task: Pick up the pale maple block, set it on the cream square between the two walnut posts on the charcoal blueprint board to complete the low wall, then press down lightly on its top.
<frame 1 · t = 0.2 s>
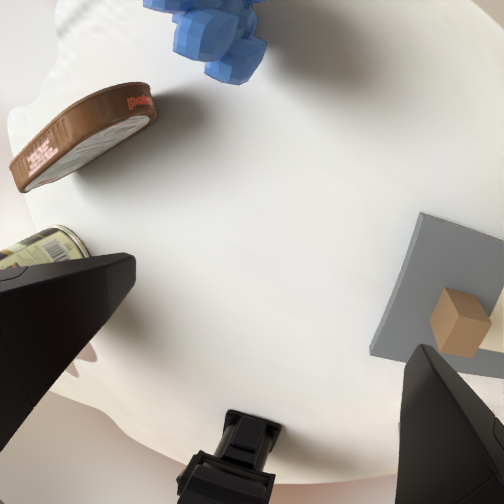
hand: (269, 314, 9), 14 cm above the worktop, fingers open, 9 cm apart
coffee can: (68, 266, 32), on the worktop
grapes: (254, 26, 18), on the worktop
tin: (110, 138, 24), on the worktop
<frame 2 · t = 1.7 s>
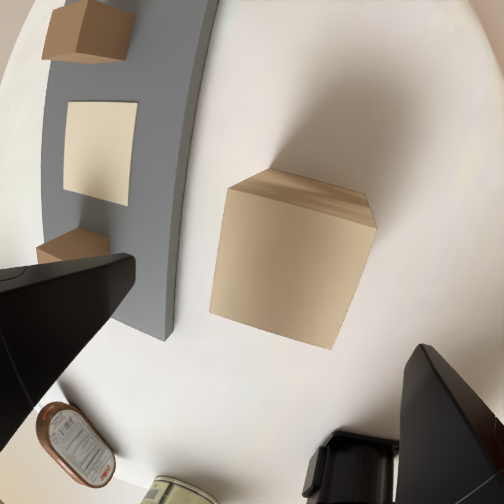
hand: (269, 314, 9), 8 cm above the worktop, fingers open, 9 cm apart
coffee can: (186, 492, 35), on the worktop
maple block: (305, 226, 16), on the worktop
blueprint board: (107, 147, 18), on the worktop
tin: (94, 428, 35), on the worktop
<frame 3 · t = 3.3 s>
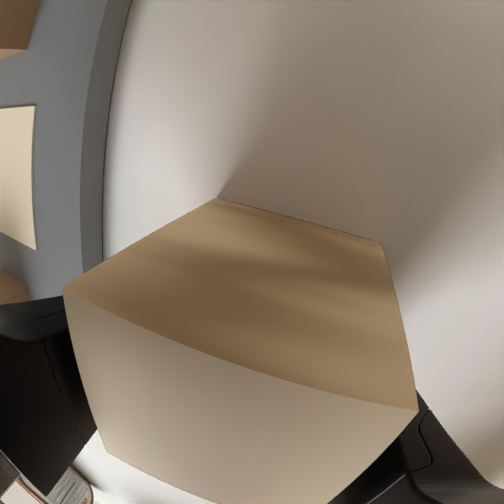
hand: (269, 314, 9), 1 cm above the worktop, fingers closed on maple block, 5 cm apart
maple block: (278, 293, 10), on the worktop, touching gripper
blueprint board: (20, 167, 11), on the worktop
tin: (68, 461, 28), on the worktop
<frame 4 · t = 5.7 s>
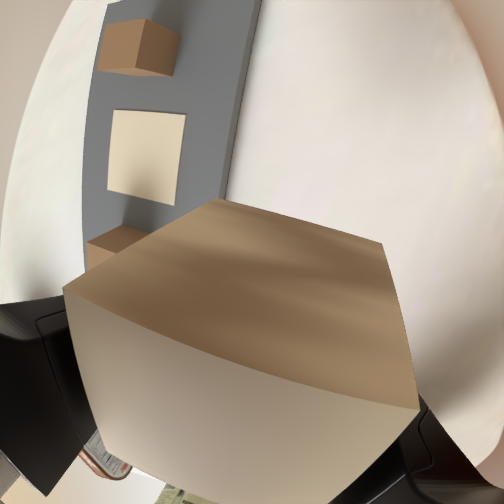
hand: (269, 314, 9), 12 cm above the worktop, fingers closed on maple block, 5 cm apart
coffee can: (204, 482, 38), on the worktop
maple block: (279, 293, 10), point 10 cm above the worktop, touching gripper
blueprint board: (151, 153, 21), on the worktop
tin: (115, 421, 38), on the worktop
when the fingers open (3 cm above the worktop, at t = 8.5 s): maple block stays where it is, resting on blueprint board.
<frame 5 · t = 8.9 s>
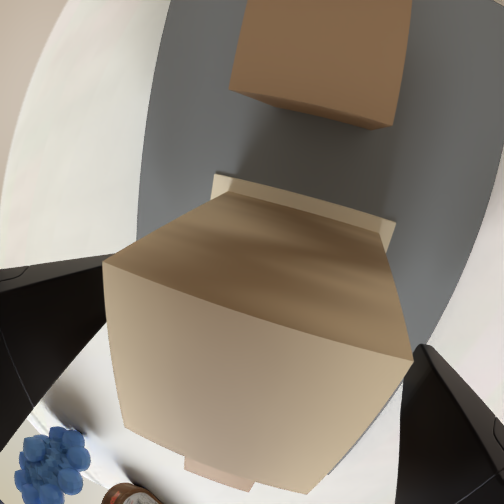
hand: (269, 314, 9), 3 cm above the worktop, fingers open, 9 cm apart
grapes: (75, 425, 26), on the worktop
maple block: (284, 280, 11), point 1 cm above the worktop, touching blueprint board
blueprint board: (289, 265, 12), on the worktop
tin: (159, 501, 29), on the worktop
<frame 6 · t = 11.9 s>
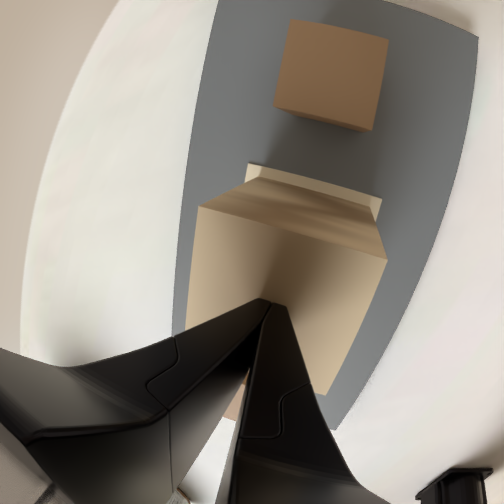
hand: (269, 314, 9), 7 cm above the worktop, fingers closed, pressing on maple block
maple block: (300, 243, 14), point 1 cm above the worktop, touching blueprint board, gripper
blueprint board: (302, 235, 15), on the worktop
tin: (171, 481, 32), on the worktop
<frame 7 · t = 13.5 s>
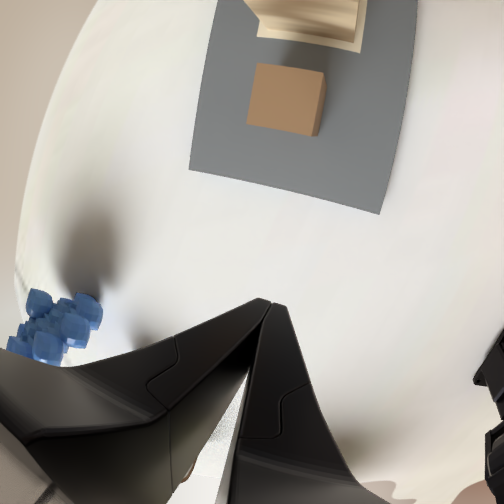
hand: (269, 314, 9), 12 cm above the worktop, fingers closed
grapes: (89, 291, 28), on the worktop
maple block: (315, 0, 13), point 1 cm above the worktop, touching blueprint board
blueprint board: (316, 8, 14), on the worktop
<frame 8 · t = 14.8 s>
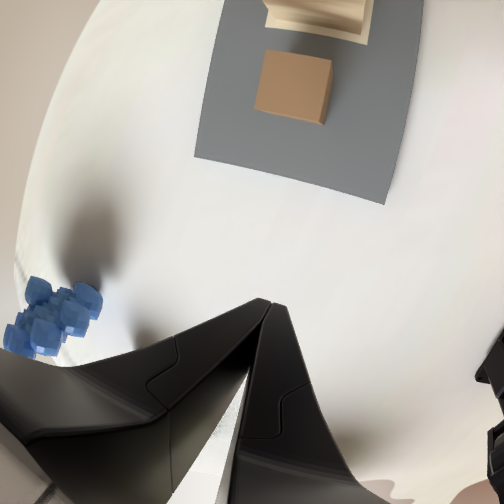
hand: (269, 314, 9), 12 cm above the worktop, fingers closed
grapes: (89, 281, 28), on the worktop
blueprint board: (324, 1, 14), on the worktop
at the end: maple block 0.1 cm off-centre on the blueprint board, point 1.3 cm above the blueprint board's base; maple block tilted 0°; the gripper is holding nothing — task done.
